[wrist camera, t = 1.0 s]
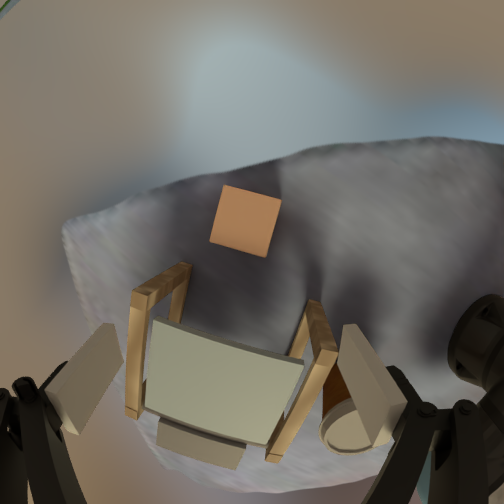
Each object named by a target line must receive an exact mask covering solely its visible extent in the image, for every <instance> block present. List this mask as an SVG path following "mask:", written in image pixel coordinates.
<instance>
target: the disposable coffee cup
mask: <svg viewBox="0 0 504 504" xmlns="http://www.w3.org/2000/svg"><path fill="white" fill-rule="evenodd" d="M319 437H320V440H321V441H322V443H323V444H324V445H325V446H326V447H327V449H328V450H330V451H331V452H333V453H336V454H339V455H356V454H361V453H364V452H367V451H370V450H372V449H374V448H376V447H378V446H375V447H372V445H371V443H370V440H369V438H368V435H367V433H366V430H365V428H364V426H363V423H362V421H361V418H360V416H359V414H358V411H357V409H356V406H355V404H354V402H353V399H352V397H351V395H350V392H349V390H348V388H347V385H346V383H345V381H344V379H343V376H342V374H341V372H340V369H339V367H338V365H337V363H336V364H334V365H333V367H332V368H331V370H330V372H329V374H328V376H327V378H326V380H325V382H324V384H323V414H322V422H321V424H320V426H319Z"/></svg>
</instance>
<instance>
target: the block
mask: <svg viewBox="0 0 504 504" xmlns="http://www.w3.org/2000/svg"><path fill="white" fill-rule="evenodd" d="M281 202H282V200H279V199H276V198H272V197H269V196H265V195H261V194H258V193H254V192H250V191H247V190H243V189H239V188H235V187H231V186H227V185H224V186H223V190H222V193H221V197H220V201H219V205H218V209H217V212H216V216H215V220H214V224H213V228H212V232H211V236H210V240H209V242H212V243H216V244H219V245H223V246H226V247H230V248H233V249H237V250H240V251H244V252H247V253H250V254H254V255H257V256H261V257H264V258H266V255H267V251H268V248H269V245H270V241H271V238H272V234H273V231H274V227H275V223H276V220H277V216H278V213H279V209H280V206H281Z"/></svg>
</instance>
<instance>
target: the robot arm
mask: <svg viewBox="0 0 504 504" xmlns="http://www.w3.org/2000/svg"><path fill="white" fill-rule="evenodd" d="M123 362H124V360H123V356H122V353H121V349H120V345H119V342H118V338H117V334H116V330H115V326H114V324H110V323H103V324H102V325H101V326H100V327H99V328H98V329H97V330H96V331H95V333H94V334H93V335H92V336H91V337H90V338H89V339H88V340H87V341H86V342H85V344H84V345H83V346H82V347H81V348H80V349H79V350H78V351H77V353H76V354H75V355H74V356H73V357H72V358H71V359H70V360H69V361H65V362H64V363H62V364H61V365H59V366H58V367H57V368H56V369H55V370H54V372H53V373H52V374H51V375H50V377H48V378H47V380H46V381H45V382H44V383H43V384H42V385H41V386H40V388H39V389H37V386H36V384H35V382H34V380H33V379H32V378H31V377H21V378H18V379H17V380H15V381H14V383H13V384H12V388H13V390H14V392H15V394H16V395H17V397H12V396H11V395H10V393H9V391H8V390H7V389H5V388H0V504H28V501H27V500H28V497H27V488H28V486H27V485H28V481H29V485H30V490H31V493H32V497H33V501H34V504H87V502H86V500H85V498H84V495H83V493H82V491H81V488H80V485H79V483H78V480H77V478H76V475H75V472H74V469H73V467H72V463H71V461H70V458H69V454H68V451H67V448H66V444H65V440H64V437H63V433H62V431H61V429H60V427H61V425H62V424H63V425H64V426H65V428H66V429H67V431H68V432H71V433H74V434H77V435H80V434H81V432H82V430H83V428H84V427H85V425H86V423H87V422H88V420H89V418H90V416H91V414H92V413H93V411H94V410H95V408H96V406H97V405H98V403H99V401H100V399H101V398H102V396H103V395H104V393H105V391H106V389H107V388H108V386H109V385H110V383H111V382H112V380H113V378H114V377H115V375H116V373H117V372H118V370H119V369H120V367H121V366H122V364H123ZM448 363H449V366H450V368H451V370H452V371H453V372H454V373H455V374H456V376H457V377H458V378H460V379H461V380H464V381H466V382H469V383H471V384H474V385H477V386H479V387H482V388H483V389H484V390H485V391H486V392H487V393H486V395H485V396H484V397H483V398H482V399H481V400H480V401H479V402H478V403H477V404H474V403H473V402H472V401H470V400H465V399H463V400H459V401H457V402H456V403H455V405H454V406H453V408H452V409H437V407H436V406H435V405H433V404H432V403H429V402H423V401H422V400H421V398H420V397H419V395H418V394H417V392H416V391H415V389H414V388H413V387H412V385H411V384H410V383H409V381H408V379H407V378H406V377H405V375H404V374H403V372H402V371H401V370H400V369H398V368H397V367H395V366H394V365H393V366H387V367H385V366H384V364H383V363H382V361H381V360H380V358H379V357H378V355H377V354H376V352H375V351H374V349H373V348H372V346H371V345H370V343H369V342H368V340H367V339H366V338H365V336H364V335H363V333H362V332H361V330H360V329H359V327H358V326H357V325H356V324H347V325H343V331H342V337H341V344H340V350H339V356H338V361H337V365H338V367H339V369H340V372H341V374H342V376H343V379H344V381H345V383H346V385H347V388H348V390H349V392H350V395H351V397H352V399H353V402H354V404H355V406H356V409H357V411H358V414H359V416H360V418H361V421H362V423H363V426H364V428H365V430H366V433H367V435H368V438H369V440H370V443H371V445H372V447H375V446H379V445H383V444H387V443H388V442H389V440H390V438H391V436H392V437H393V439H394V441H395V442H394V444H393V446H392V448H391V449H390V451H389V453H388V456H387V458H386V460H385V462H384V464H383V466H382V468H381V470H380V472H379V474H378V476H377V478H376V479H375V481H374V483H373V485H372V486H371V488H370V490H369V492H368V493H367V495H366V496H365V498H364V500H363V502H362V503H361V504H408V503H409V501H410V499H411V497H412V494H413V492H414V490H415V487H417V491H418V494H419V497H420V499H421V502H422V503H423V504H504V298H502V297H500V296H498V295H495V294H491V295H487V296H484V297H482V298H480V299H479V300H477V301H476V302H475V303H474V304H473V305H472V306H471V307H470V308H469V309H468V310H467V311H466V312H465V314H464V315H463V316H462V318H461V319H460V321H459V322H458V324H457V326H456V328H455V330H454V332H453V335H452V337H451V340H450V344H449V348H448ZM7 427H8V428H9V431H7Z"/></svg>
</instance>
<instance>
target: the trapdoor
mask: <svg viewBox="0 0 504 504" xmlns="http://www.w3.org/2000/svg"><path fill="white" fill-rule="evenodd" d="M303 368H304V360H301V359H297V358H293V357H289V356H285V355H281V354H277V353H273V352H269V351H266V350H262V349H258V348H255V347H251V346H248V345H244V344H241V343H237V342H234V341H231V340H228V339H224V338H221V337H218V336H215V335H212V334H209V333H205V332H202V331H199V330H196V329H194V328H191V327H188V326H185V325H182V324H179V323H176V322H174V321H171V320H168V319H165V318H163V317H160V316H157V317H156V318H155V319H154V320H153V328H152V335H151V343H150V352H149V361H148V371H147V382H146V395H145V401H144V403H143V405H142V409H143V410H145V411H148V412H150V413H152V414H155V415H157V416H160V417H161V418H160V419H159V421H158V430H157V441H156V445H158V446H160V447H163V448H165V449H168V450H171V451H173V452H176V453H179V454H182V455H185V456H187V457H190V458H194V459H197V460H200V461H203V462H206V463H210V464H213V465H217V466H221V467H225V468H229V469H233V470H236V468H237V466H238V464H239V462H240V460H241V458H242V456H243V454H244V452H245V450H246V445H247V444H248V445H253V446H257V447H262V448H268V446H269V442H270V439H269V438H270V436H271V435H272V433H273V431H274V429H275V427H276V425H277V423H278V421H279V419H280V417H281V415H282V413H283V411H284V409H285V407H286V405H287V403H288V401H289V399H290V397H291V394H292V392H293V390H294V388H295V386H296V384H297V381H298V379H299V377H300V375H301V373H302V370H303Z"/></svg>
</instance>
